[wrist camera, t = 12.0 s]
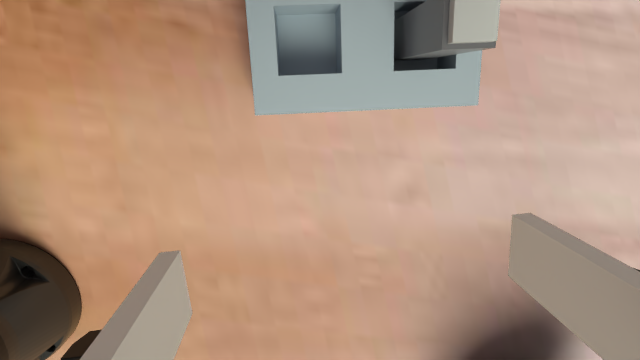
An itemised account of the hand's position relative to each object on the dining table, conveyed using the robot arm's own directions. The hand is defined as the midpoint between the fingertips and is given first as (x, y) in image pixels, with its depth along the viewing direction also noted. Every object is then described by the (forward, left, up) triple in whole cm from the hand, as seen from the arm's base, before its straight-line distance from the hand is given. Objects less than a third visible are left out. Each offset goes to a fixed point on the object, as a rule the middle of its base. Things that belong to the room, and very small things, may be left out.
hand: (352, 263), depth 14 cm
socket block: (+4, +10, -26) cm, 28 cm away
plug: (+9, +10, -24) cm, 28 cm away
